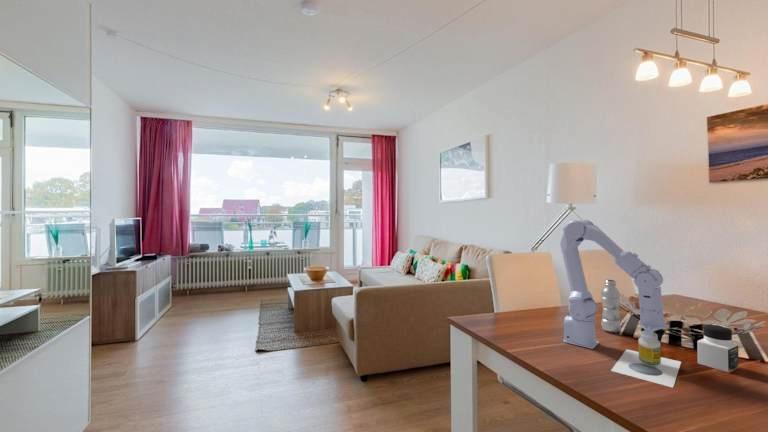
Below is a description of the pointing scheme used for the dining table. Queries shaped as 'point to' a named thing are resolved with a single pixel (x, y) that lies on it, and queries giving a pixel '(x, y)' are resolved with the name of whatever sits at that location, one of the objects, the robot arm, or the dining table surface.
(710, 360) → the medicine bottle
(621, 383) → the dining table surface
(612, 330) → the plastic bottle
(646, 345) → the supplement bottle
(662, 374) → the card
